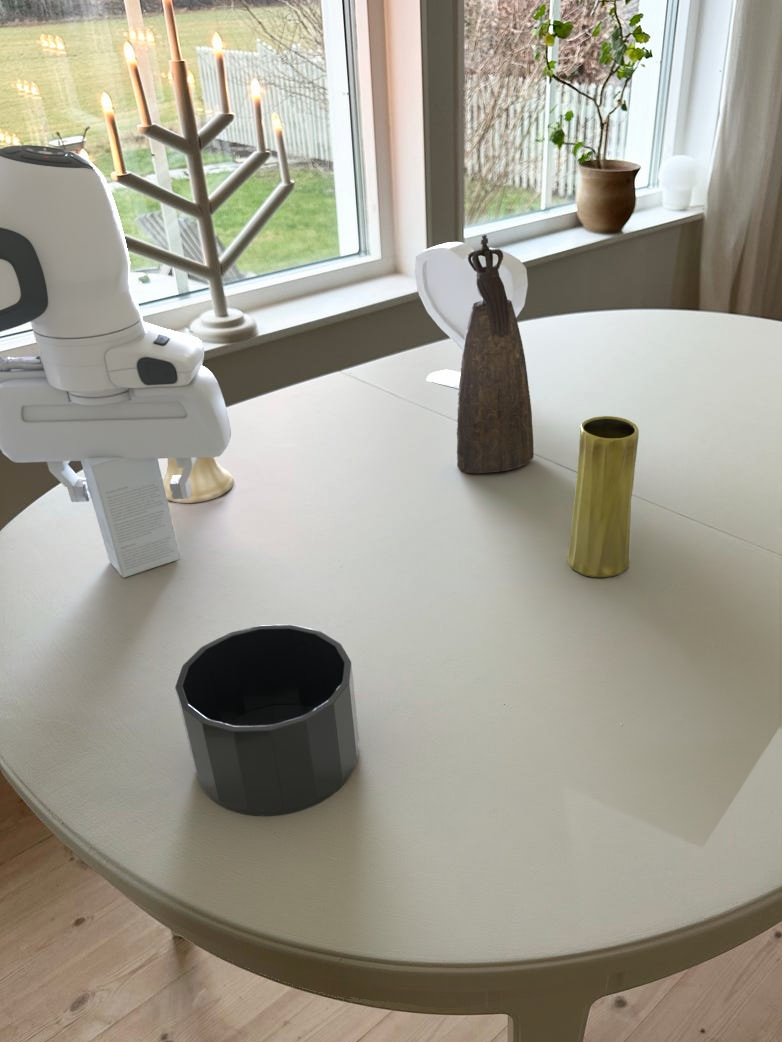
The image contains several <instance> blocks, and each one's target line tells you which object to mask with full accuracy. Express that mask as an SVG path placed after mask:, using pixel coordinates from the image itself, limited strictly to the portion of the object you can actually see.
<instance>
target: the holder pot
mask: <svg viewBox="0 0 782 1042" xmlns="http://www.w3.org/2000/svg"><path fill="white" fill-rule="evenodd" d="M174 688H175V692H176V697H177V701H178V704H179V705H178V706H179V710H180V713H181V717H182V721H183V726H184V730H185V735H186V738H187V744H188V747H189V751H190V755H191V760H192V764H193V766H194V770H195V774H196V777H197V781H198V783H199V786H200V788H201V789H202V790H203V792H204V794H205V795H206V796H207V797H208V798H209V799H210V800H211V801H213V802H214V803H215V804H217V805H219V806H220V807H222V808H224V809H227V810H229V811H232V812H235V813H239V814H243V815H246V816H247V815H248V816H257V817H258V816H261V817H270V816H271V817H272V816H281V815H288V814H292V813H296V812H299V811H302V810H305V809H308V808H311V807H313V806H315V805H318V804H319V803H321V802H323V801H325V800H327V799H328V798H330V797H331V796H332V795H334V794H335V793H336V792H337V791H339V790H340V789H341V788H342V787H343V786H344V785H345V784H346V783H347V782H348V781H349V779H350V777H351V776H352V774H353V772H354V770H355V769H356V766H357V763H358V760H359V743H360V742H359V740H360V737H359V726H358V717H357V716H358V715H357V706H356V697H355V696H356V695H355V684H354V675H353V665H352V661H351V659H350V657H349V655H348V653H347V652H346V650H345V648H344V647H343V645H342V644H341V643H340V642H339V641H337V640H335V639H333V638H332V637H330V636H328V635H327V634H326V633H324V632H322V631H320V630H317V629H312V628H307V627H304V626H299V625H296V624H267V625H265V624H264V625H263V624H261V625H256V626H252V627H248V628H244V629H239V630H235V631H232V632H228V633H226V634H224V635H222V636H220V637H218V638H216V639H214V640H213V641H211V642H209V643H207V644H205V645H202V646H201V647H200V648H199V649H197V651H196V652H195V653H194V654H193V655H192V656H191V657H190V658H189V659H188V660H187V661H186V662H185V663H184V664H183V665H182V666H181V669H180V672H179V676H178V678H177V680H176V684H175V687H174Z"/></svg>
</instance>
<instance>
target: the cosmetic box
mask: <svg viewBox="0 0 782 1042" xmlns="http://www.w3.org/2000/svg"><path fill="white" fill-rule="evenodd" d="M80 463H81V467H82V471H83V474H84V478H86V481H87V485H88V488H89V492H90V495H91V498H90V499H91V502H92V506H93V509H94V513H95V516H96V520H97V524H98V527H99V530H100V533H101V537H102V541H103V545H104V548H105V552H106V555H107V559H108V561H109V563H110V564H111V565H112V566H113V567H114V569H115V570H116V572H118V573H119V575H120V577H122V578H123V579H124V578H127V577H130V576H133V575H136V574H139V573H142V572H145V571H148V570H152V569H154V568H157V567H161V566H163V565H166V564H170V563H172V562H175V561H178V560H180V559H181V555H180V550H179V546H178V542H177V541H178V540H177V538H176V533H175V529H174V524H173V520H172V516H171V511H170V507H169V502H168V500H167V497H166V493H165V488H164V484H163V480H162V479H163V476H162V472H161V468H160V463H159V459H126V458H125V457H98V458H86V459H85V460H84V461H80Z"/></svg>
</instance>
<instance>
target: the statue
mask: <svg viewBox="0 0 782 1042" xmlns="http://www.w3.org/2000/svg"><path fill="white" fill-rule="evenodd" d="M481 238H482V239H480V245H481V247H480V248H481V249H478V250H477V249H476V250H474V251H473V252H471V253H470V254H468V262H469V264H470V266H471V267H472V268H473V269H474V271H476V272H477V274H476V277H477V279H476V286H477V290H478V293H479V294H480V296H481V297H482V298H483V300H482V301H479V302H476V303H474V304H473V306H472V310H471V314H470V318H469V323H468V327H467V333H466V338H465V344H464V350H463V356H462V355H461V361H460V362H461V364H460V366H461V367H460V373H461V374H460V383H459V389H458V392H457V393H458V394H457V396H458V398H457V400H458V401H457V419H456V422H457V424H456V425H457V426H456V441H457V442H456V460H457V463H456V466H457V468H458V470H459V471H461V472H465V473H467V474H477V475H479V474H488V473H497V472H503V471H504V472H505V471H510V470H515V469H517V468H520V467H522V466H524V465H527V464H528V463H529V462H531V461H533V459H534V458H535V453H534V451H535V450H534V449H535V448H534V429H533V413H532V404H531V403H532V401H531V395H530V386H529V379H528V378H529V377H528V370H527V363H526V362H527V361H526V356H525V351H524V344H523V341H522V335H521V332H520V327H519V323H518V319H517V318H516V316H515V312H514V309H513V305H512V301H511V300H507V296H506V292H505V288H504V285H503V282H502V280H501V278H500V276H499V271H498V269H499V268H500V265H501V263H502V260H503V252H502V251H503V250H502V249H500V248H496V249H495V250H494V249H493V250H492V249H489V248H490V247H489V246H488V244H489V238H488V236H487V234H483V235H482V236H481ZM501 250H502V251H501ZM493 254H496V255H497V256H498V263H497V264H496V265H495V266H493ZM478 256H484V257H485V260H486V267H482V265H481V263H480V261H479V257H478ZM471 257H472V261H471ZM472 262H473V263H472Z"/></svg>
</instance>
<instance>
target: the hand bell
mask: <svg viewBox="0 0 782 1042" xmlns="http://www.w3.org/2000/svg"><path fill="white" fill-rule="evenodd" d="M183 469H184V467H182V468H179V467H177V462H176V458H167V467H166V471H165V474H164V476H163V477H162V480H163V484H164V488H165V493H166V497H167V501H169V502H173V503H179V504H193V503H196V504H197V503H202V502H207V501H210V500H213V499H216V498H219V497H220V496H223V495H224V494H226V493H227V492H229V491H230V489H232V487H233V486H234V482H235V481H234V477H233V476H232V475H231V473H230V472H229V471H228V470H226V469H225V468H223V467H222V466H221V465H220V464H219V463H218V462H217V460H216V457H197V459H196V461H195V464H194V466H193V469H192V471H191V473H190V476H189V479H190V484H191V496H190V498H189V499H173V498H172V493H173V492H172V491H171V490H170V485H169V484H170V482H171V481H172V477H173V476H177V475H181V474H182V472H183Z"/></svg>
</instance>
